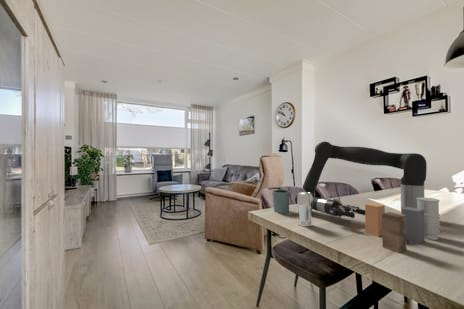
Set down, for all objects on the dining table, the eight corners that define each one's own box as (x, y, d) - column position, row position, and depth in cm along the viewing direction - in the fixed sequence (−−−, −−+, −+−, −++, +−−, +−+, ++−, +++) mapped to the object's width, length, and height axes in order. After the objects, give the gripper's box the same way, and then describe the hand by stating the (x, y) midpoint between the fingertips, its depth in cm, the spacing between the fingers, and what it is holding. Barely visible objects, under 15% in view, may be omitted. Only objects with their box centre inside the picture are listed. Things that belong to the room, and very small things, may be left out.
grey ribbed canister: (412, 233, 88) (411, 197, 88) (429, 233, 87) (428, 197, 87) (426, 240, 81) (426, 201, 81) (445, 240, 81) (444, 201, 81)
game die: (337, 217, 124) (348, 203, 124) (336, 215, 117) (347, 200, 117) (324, 207, 129) (334, 194, 129) (321, 205, 123) (332, 191, 122)
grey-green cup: (272, 213, 120) (272, 192, 120) (272, 208, 130) (272, 189, 130) (291, 213, 118) (291, 192, 118) (289, 209, 128) (289, 189, 128)
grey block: (408, 236, 84) (408, 206, 84) (424, 241, 80) (424, 209, 80) (402, 239, 82) (401, 208, 82) (418, 244, 77) (417, 211, 77)
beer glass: (295, 222, 103) (294, 192, 103) (309, 222, 104) (308, 191, 104) (301, 227, 96) (300, 194, 96) (315, 226, 97) (315, 194, 97)
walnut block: (390, 244, 78) (389, 211, 78) (406, 249, 73) (405, 215, 73) (382, 247, 75) (382, 213, 75) (398, 252, 71) (398, 217, 71)
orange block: (372, 230, 91) (371, 202, 92) (385, 234, 87) (384, 205, 87) (365, 232, 89) (365, 204, 89) (378, 236, 85) (377, 206, 85)
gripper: (318, 200, 105) (350, 207, 90) (337, 197, 111) (369, 203, 97) (319, 215, 105) (350, 225, 90) (337, 212, 111) (369, 220, 97)
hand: (360, 214), depth 94 cm, fingers open, 8 cm apart
